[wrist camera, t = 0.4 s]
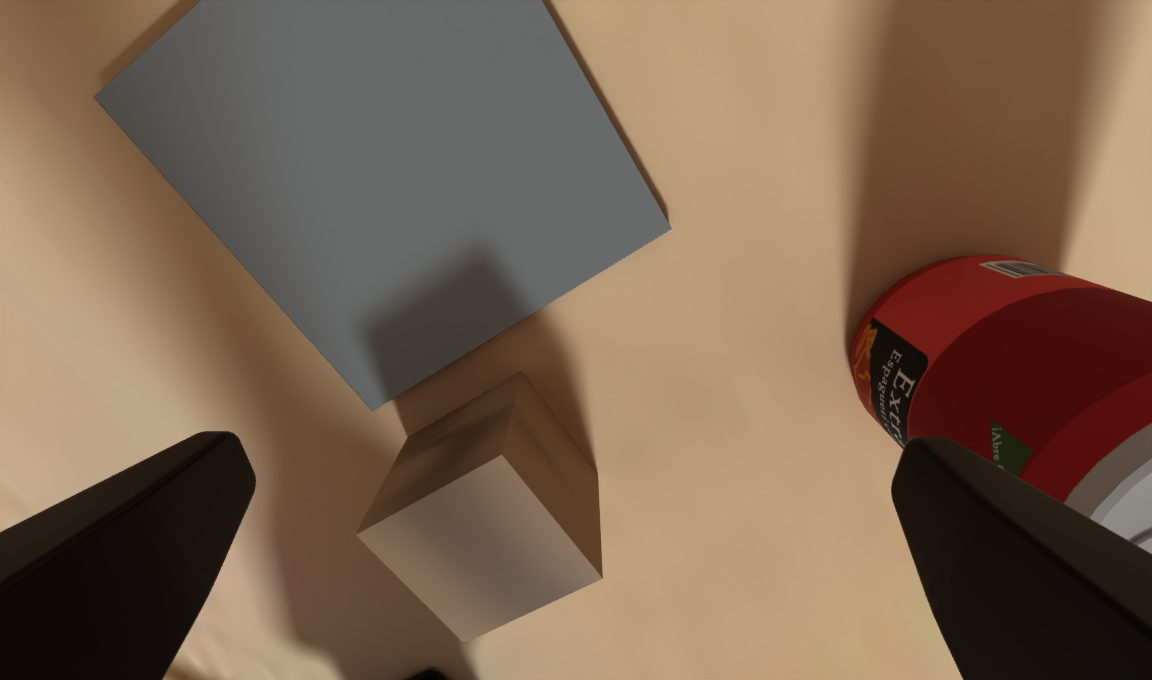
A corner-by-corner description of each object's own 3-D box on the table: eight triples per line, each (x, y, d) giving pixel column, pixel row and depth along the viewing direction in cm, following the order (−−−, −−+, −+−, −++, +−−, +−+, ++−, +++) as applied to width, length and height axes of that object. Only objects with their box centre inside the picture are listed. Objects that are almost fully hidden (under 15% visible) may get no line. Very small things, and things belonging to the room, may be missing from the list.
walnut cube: (489, 528, 26) (463, 643, 20) (408, 436, 24) (355, 535, 18) (597, 472, 24) (602, 578, 19) (521, 370, 22) (501, 454, 17)
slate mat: (377, 404, 23) (372, 411, 22) (108, 97, 19) (93, 97, 18) (669, 225, 20) (671, 228, 19) (432, -192, 16) (426, -203, 15)
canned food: (811, 322, 21) (1017, 510, 11) (1015, 205, 20) (1480, 304, 9) (886, 457, 24) (1113, 714, 14) (1075, 364, 22) (1497, 580, 12)
